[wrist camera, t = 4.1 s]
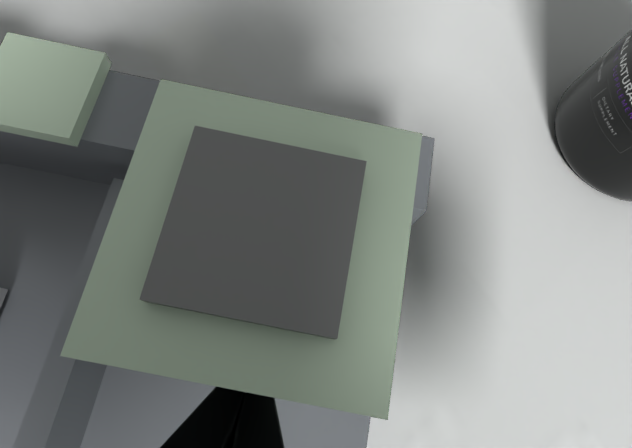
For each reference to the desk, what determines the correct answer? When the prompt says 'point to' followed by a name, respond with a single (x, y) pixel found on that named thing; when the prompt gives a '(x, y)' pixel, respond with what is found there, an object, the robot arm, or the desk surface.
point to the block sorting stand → (91, 260)
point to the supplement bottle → (600, 123)
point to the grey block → (2, 295)
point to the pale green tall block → (256, 252)
